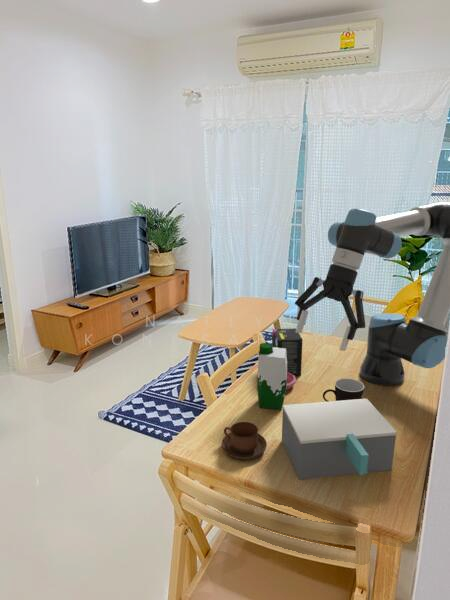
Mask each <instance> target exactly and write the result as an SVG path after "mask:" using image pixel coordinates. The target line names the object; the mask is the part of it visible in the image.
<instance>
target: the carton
mask: <svg viewBox="0 0 450 600" xmlns="http://www.w3.org/2000/svg"><path fill="white" fill-rule="evenodd" d="M281 422H282V423H281V424H282V425H281V443H282V445H283V447H284V449H285V452H286V454H287V456H288V458H289V461H290V462H291V465H292V467H293V470H294V471H295V474H296V476H297V479H298V480H299V481H300V480H307V479H317V478H318V479H319V478H326V477H336V476H347V475H357V474H358V475H359V473H358V471H357V470H356V468H355V467H354V465H353V464H352V462H351V460H350V459H349V457H348V456H347V454H346V453H345V449H346V440H337V441H327V442H316V443H305V444H301V443H300V441H299V439H298V437H297V435H296V433H295V431H294V429H293V427H292V425H291V423H290V421H289V419H288V417H287V415H286V413H285V411H284V409H283V408H282V421H281ZM396 438H397V435H392V436H381V437H370V438H359V439H357V440H358V441H359V443H360V444H361V445H362V447H363V448H364V449H365V451H366V452H367V454H368V465H367V473H376V472H385V471H387V472H388V471H392V470H393V463H394V455H395V446H396Z"/></svg>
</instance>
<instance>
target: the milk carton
mask: <svg viewBox="0 0 450 600" xmlns="http://www.w3.org/2000/svg"><path fill="white" fill-rule="evenodd" d="M257 360H258V362H257V398H258V408H259V409H268V410H276V409H277V410H276V411H283V405H284V402H285V398H286V397H285V396H286V391H287V390H286V385H287V355H286V348H278V347H273V345H272V343H269V342H263V343H260V344H259V350H258V359H257Z"/></svg>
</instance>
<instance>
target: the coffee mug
mask: <svg viewBox="0 0 450 600" xmlns="http://www.w3.org/2000/svg"><path fill="white" fill-rule="evenodd" d="M364 391H365V385H364V383H363V382H361V381H360V380H358V379H354V378H349V377H344V378H339V379H336V380H335V382H334V389H326V390H325V391H324V392H323V394H322V398H323V400H324V402H329V400H327V399H326V394H327V393H329V392H330V393H332V394H334V396H335V401H341V400H354V399H363V397H364V395H363V394H364Z"/></svg>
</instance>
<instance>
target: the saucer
mask: <svg viewBox="0 0 450 600" xmlns="http://www.w3.org/2000/svg"><path fill="white" fill-rule="evenodd" d="M295 384H296V376H294V375H293V374H291V373H289V372H287V385H286V391H288V390H289V389H291V388H292V387H293V386H294V385H295Z"/></svg>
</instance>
